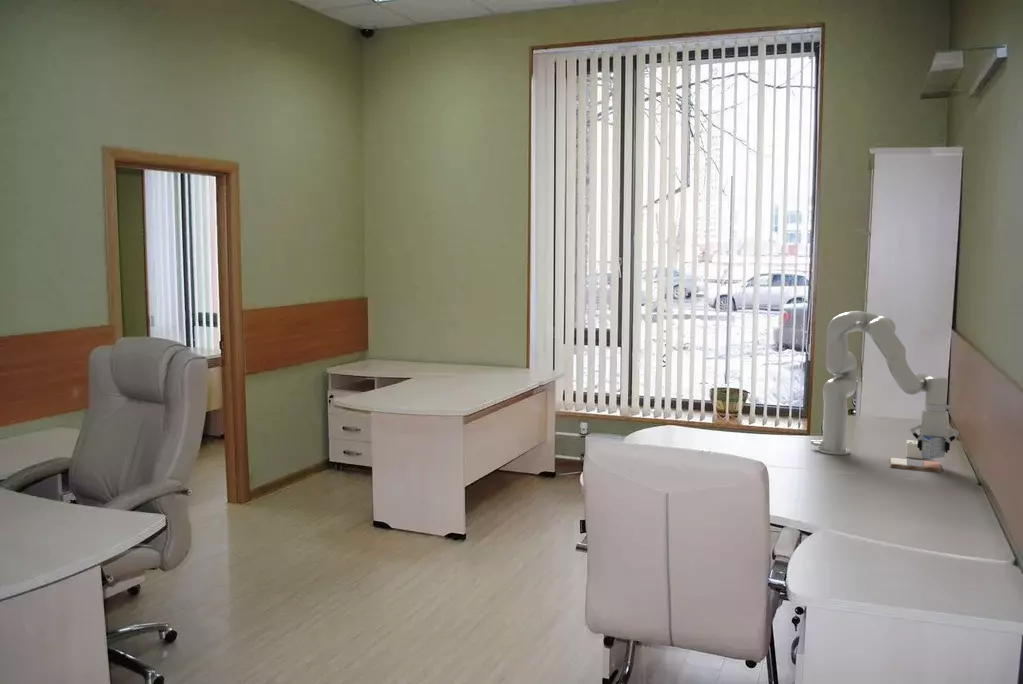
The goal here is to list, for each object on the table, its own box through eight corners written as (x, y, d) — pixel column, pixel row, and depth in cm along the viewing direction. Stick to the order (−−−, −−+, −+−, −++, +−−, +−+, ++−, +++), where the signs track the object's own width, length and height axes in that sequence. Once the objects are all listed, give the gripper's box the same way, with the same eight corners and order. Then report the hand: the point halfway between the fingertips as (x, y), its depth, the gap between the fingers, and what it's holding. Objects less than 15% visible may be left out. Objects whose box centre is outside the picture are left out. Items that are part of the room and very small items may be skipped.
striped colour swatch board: (890, 467, 340) (890, 464, 339) (890, 460, 351) (890, 456, 350) (941, 472, 332) (941, 468, 332) (939, 464, 343) (939, 461, 343)
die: (906, 457, 355) (907, 442, 355) (906, 453, 361) (906, 439, 360) (922, 458, 353) (923, 444, 352) (921, 455, 359) (922, 441, 358)
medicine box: (936, 454, 342) (937, 433, 341) (945, 457, 338) (946, 435, 337) (920, 456, 340) (921, 435, 339) (929, 459, 335) (930, 437, 334)
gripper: (959, 407, 336) (957, 450, 338) (910, 404, 343) (908, 446, 345) (961, 411, 329) (958, 455, 331) (911, 407, 336) (909, 451, 338)
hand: (933, 450), depth 338 cm, fingers closed on medicine box, 8 cm apart
